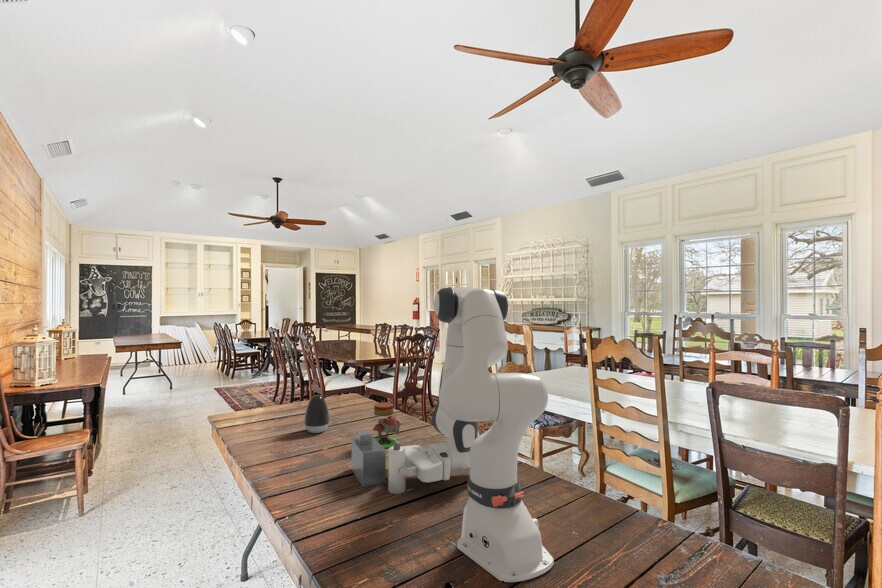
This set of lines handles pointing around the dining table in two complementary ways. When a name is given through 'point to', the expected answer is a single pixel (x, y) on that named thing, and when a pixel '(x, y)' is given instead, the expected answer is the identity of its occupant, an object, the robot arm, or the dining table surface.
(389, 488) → the white bottle
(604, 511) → the dining table surface
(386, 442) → the mushroom figurine
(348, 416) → the dining table surface
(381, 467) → the motor
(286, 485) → the dining table surface
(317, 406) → the dark grey egg shape
